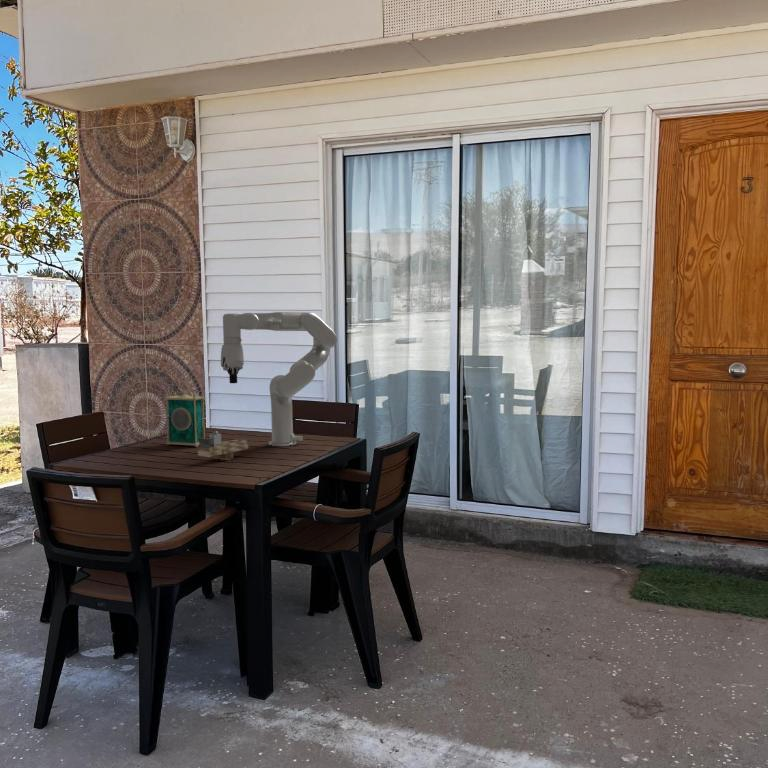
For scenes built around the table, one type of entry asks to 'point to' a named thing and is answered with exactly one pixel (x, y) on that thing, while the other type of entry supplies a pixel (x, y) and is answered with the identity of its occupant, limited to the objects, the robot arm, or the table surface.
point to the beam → (221, 448)
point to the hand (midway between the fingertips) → (233, 383)
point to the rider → (215, 438)
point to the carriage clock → (185, 418)
